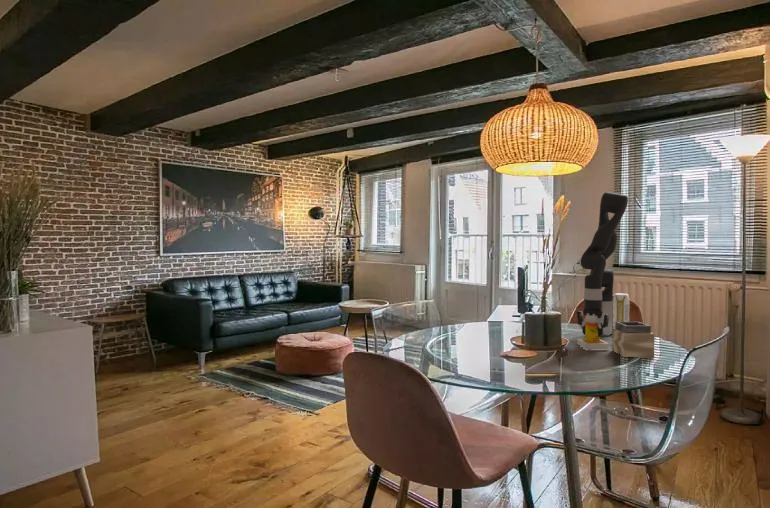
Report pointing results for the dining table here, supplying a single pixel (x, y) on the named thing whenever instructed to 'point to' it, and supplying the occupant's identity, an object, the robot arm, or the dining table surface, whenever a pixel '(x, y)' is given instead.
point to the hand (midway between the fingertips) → (592, 335)
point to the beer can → (591, 329)
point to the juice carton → (620, 308)
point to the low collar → (593, 344)
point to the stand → (633, 339)
